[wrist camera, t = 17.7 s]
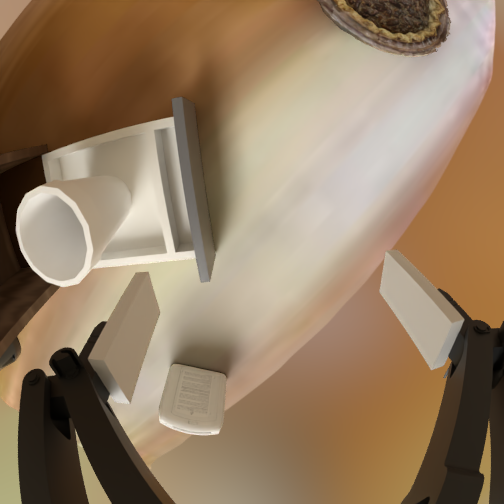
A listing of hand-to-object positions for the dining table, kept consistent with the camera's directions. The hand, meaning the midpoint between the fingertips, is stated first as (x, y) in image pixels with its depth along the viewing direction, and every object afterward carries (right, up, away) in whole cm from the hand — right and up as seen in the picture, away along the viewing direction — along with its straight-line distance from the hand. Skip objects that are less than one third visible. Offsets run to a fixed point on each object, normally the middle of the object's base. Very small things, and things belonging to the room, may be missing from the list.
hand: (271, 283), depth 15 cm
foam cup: (-19, +8, +17) cm, 26 cm away
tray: (-17, +9, +18) cm, 26 cm away
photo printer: (-11, -20, +31) cm, 38 cm away
